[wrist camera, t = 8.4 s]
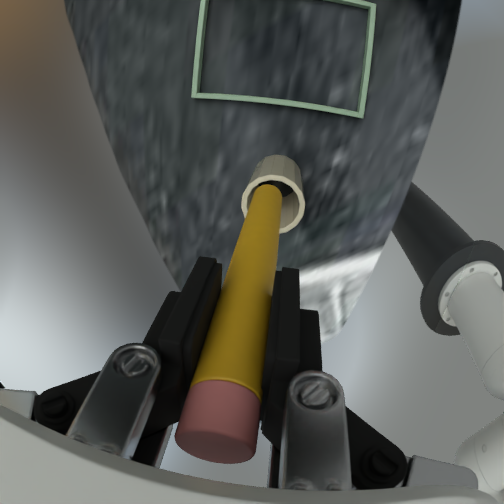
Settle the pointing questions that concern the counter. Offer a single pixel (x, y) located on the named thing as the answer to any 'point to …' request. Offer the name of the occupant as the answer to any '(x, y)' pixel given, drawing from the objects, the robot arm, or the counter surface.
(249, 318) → the pencil
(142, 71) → the counter surface
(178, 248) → the counter surface
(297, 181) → the pen cup
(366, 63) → the tray
